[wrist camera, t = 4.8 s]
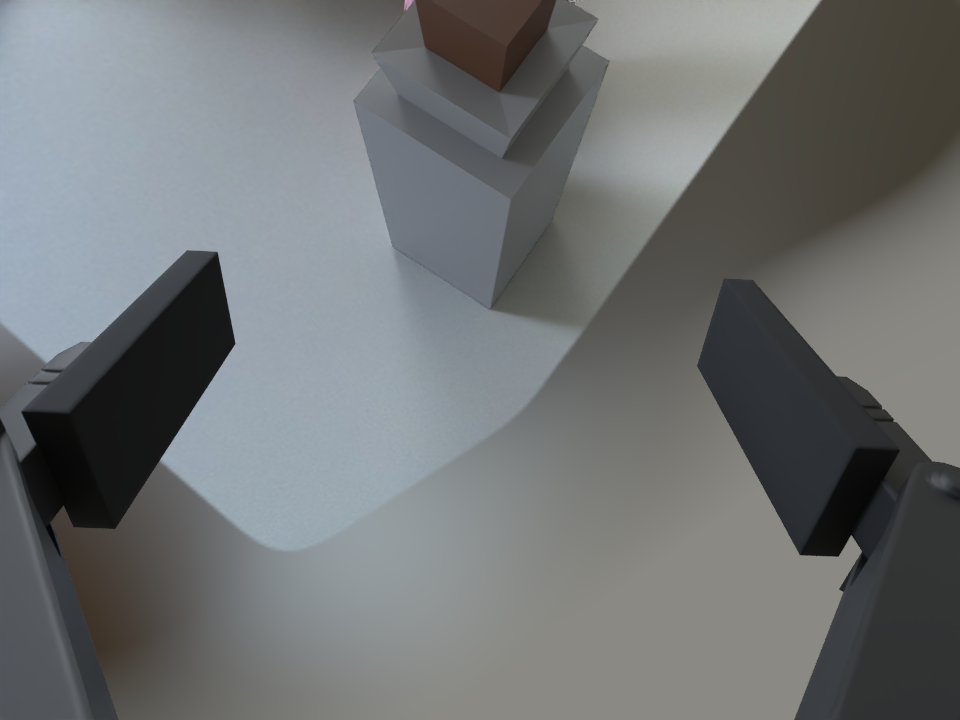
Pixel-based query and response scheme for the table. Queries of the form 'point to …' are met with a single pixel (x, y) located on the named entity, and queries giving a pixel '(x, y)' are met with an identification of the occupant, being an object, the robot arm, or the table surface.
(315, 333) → the table surface
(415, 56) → the perfume bottle
